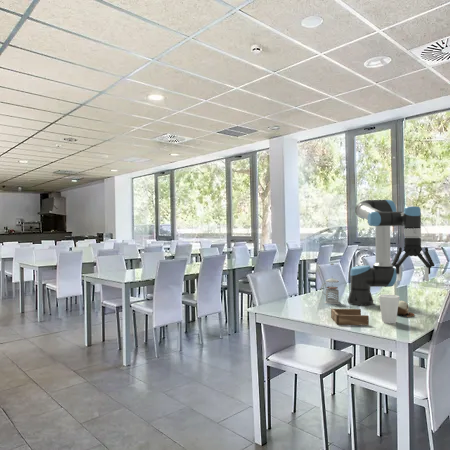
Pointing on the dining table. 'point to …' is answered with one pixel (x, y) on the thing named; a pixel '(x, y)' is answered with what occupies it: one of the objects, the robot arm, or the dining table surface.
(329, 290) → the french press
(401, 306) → the white and brown lump
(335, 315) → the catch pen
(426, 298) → the dining table surface
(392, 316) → the foam cup
